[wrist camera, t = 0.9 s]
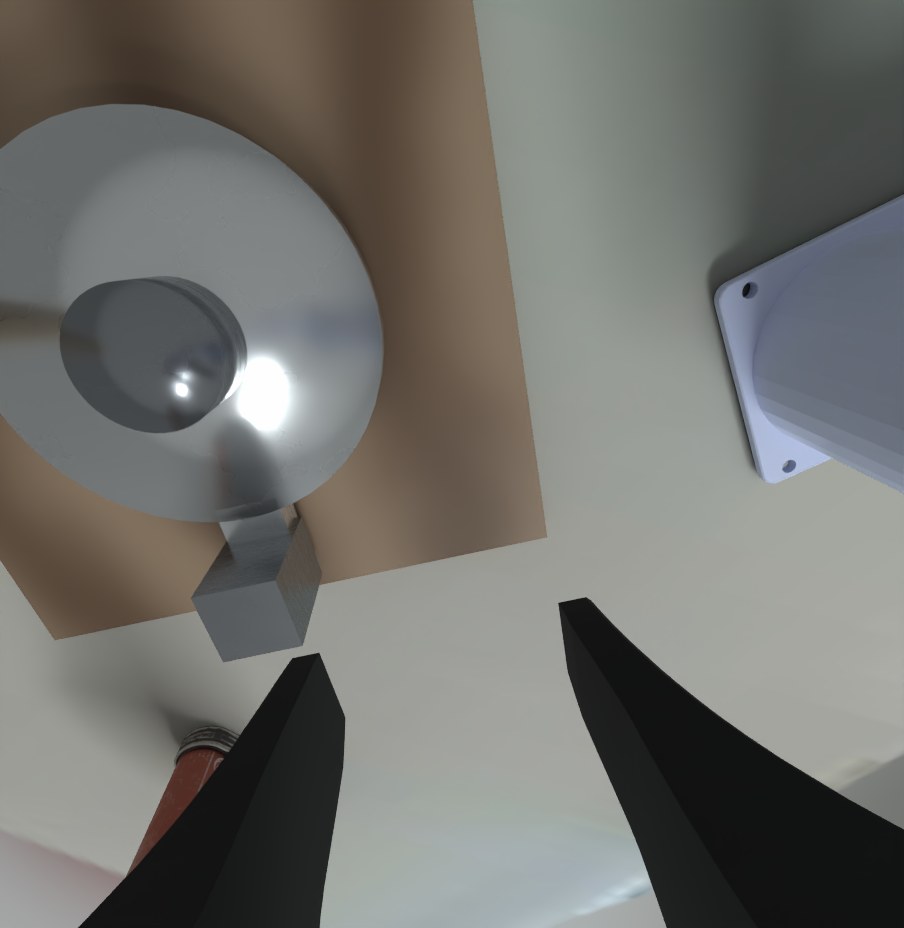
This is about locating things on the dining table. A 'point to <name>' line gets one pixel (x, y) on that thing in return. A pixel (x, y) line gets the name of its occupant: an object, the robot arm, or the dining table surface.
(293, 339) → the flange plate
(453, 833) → the dining table surface
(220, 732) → the lighter
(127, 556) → the walnut board
